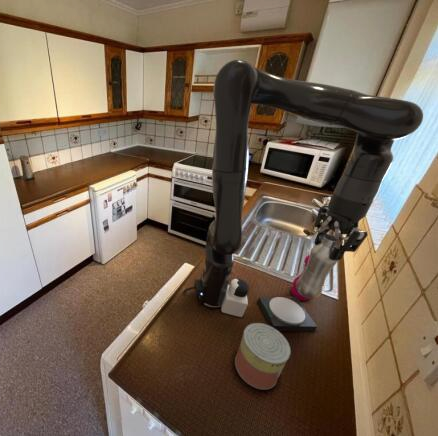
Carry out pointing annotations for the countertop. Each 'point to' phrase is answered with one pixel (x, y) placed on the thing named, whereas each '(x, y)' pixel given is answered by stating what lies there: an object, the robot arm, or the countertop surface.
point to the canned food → (261, 355)
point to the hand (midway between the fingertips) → (326, 251)
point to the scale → (286, 314)
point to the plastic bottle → (317, 268)
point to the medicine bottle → (236, 298)
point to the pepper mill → (294, 290)
